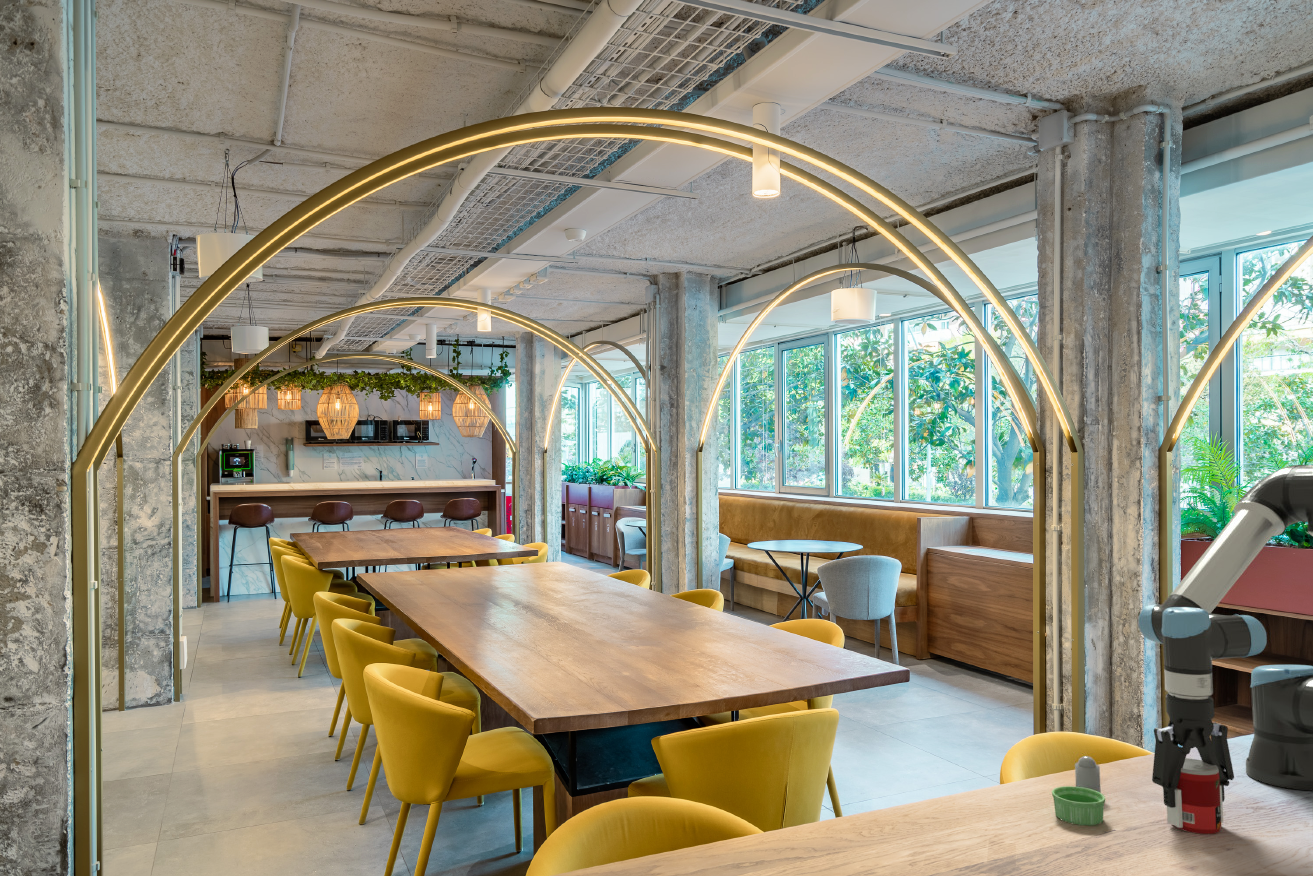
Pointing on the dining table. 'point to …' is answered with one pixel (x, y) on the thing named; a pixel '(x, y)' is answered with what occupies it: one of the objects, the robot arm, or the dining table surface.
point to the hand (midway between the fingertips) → (1195, 822)
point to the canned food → (1200, 797)
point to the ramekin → (1078, 805)
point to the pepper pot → (1087, 774)
